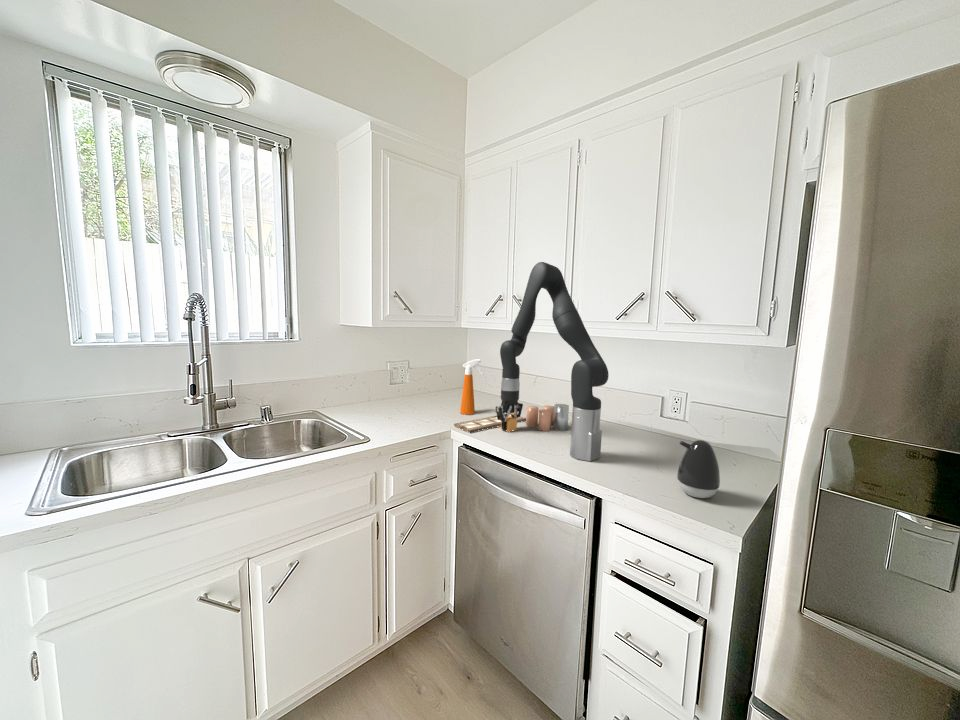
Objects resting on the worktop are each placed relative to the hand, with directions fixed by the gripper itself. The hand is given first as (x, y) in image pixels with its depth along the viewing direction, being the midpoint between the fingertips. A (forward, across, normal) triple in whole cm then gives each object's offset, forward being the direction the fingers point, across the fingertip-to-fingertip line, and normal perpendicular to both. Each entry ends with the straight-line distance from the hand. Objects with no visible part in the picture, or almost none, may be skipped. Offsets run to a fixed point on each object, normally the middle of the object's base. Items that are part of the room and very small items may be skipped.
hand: (508, 428), depth 162 cm
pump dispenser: (+1, -1, +73) cm, 73 cm away
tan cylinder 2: (0, -20, +4) cm, 20 cm away
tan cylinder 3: (0, -13, +8) cm, 15 cm away
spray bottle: (+1, -4, -30) cm, 30 cm away
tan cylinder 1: (0, -13, +1) cm, 13 cm away
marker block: (0, 0, 0) cm, 0 cm away
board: (0, 0, -11) cm, 11 cm away
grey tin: (0, -20, +11) cm, 23 cm away
